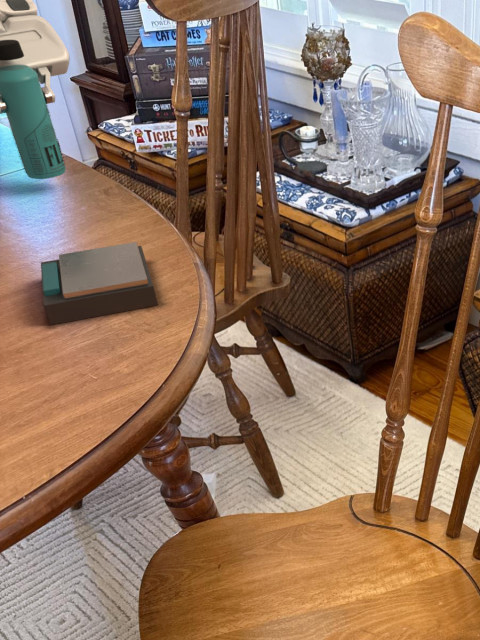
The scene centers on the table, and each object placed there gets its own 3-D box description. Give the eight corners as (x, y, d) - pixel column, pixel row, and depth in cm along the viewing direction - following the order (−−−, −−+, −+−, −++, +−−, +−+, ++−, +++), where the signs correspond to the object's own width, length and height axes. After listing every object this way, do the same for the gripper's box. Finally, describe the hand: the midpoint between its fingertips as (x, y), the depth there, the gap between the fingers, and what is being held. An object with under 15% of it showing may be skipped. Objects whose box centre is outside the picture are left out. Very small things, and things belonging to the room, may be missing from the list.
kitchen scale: (50, 325, 95) (41, 299, 93) (47, 281, 104) (38, 256, 102) (158, 305, 98) (151, 279, 96) (146, 263, 107) (139, 239, 105)
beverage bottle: (58, 190, 125) (13, 46, 112) (20, 188, 126) (-29, 45, 113) (77, 176, 130) (37, 36, 116) (40, 174, 131) (-4, 35, 117)
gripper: (-95, 17, 111) (-41, 106, 112) (42, -3, 121) (90, 79, 122) (-92, 49, 116) (-41, 133, 118) (39, 27, 126) (85, 105, 128)
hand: (27, 106), depth 120 cm, fingers closed on beverage bottle, 6 cm apart
